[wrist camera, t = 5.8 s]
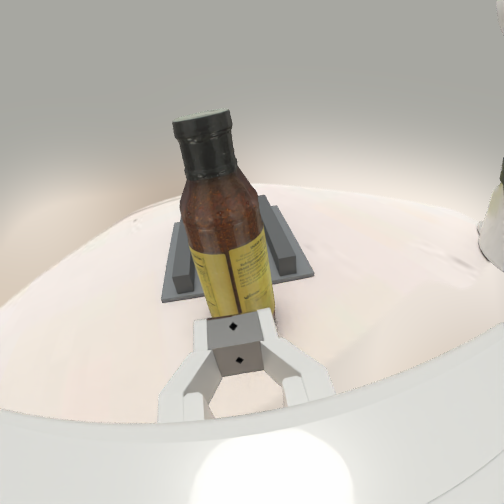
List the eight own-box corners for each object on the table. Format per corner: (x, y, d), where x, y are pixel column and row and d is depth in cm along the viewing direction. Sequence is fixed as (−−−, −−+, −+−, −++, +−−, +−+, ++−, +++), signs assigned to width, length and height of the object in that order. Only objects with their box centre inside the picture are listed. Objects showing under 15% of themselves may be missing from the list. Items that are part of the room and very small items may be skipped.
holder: (276, 208, 50) (275, 192, 48) (314, 276, 33) (314, 254, 32) (175, 225, 49) (171, 209, 47) (162, 302, 32) (154, 282, 31)
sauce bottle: (272, 297, 31) (252, 103, 20) (279, 341, 26) (258, 108, 15) (213, 304, 31) (171, 115, 21) (210, 348, 26) (149, 126, 15)
